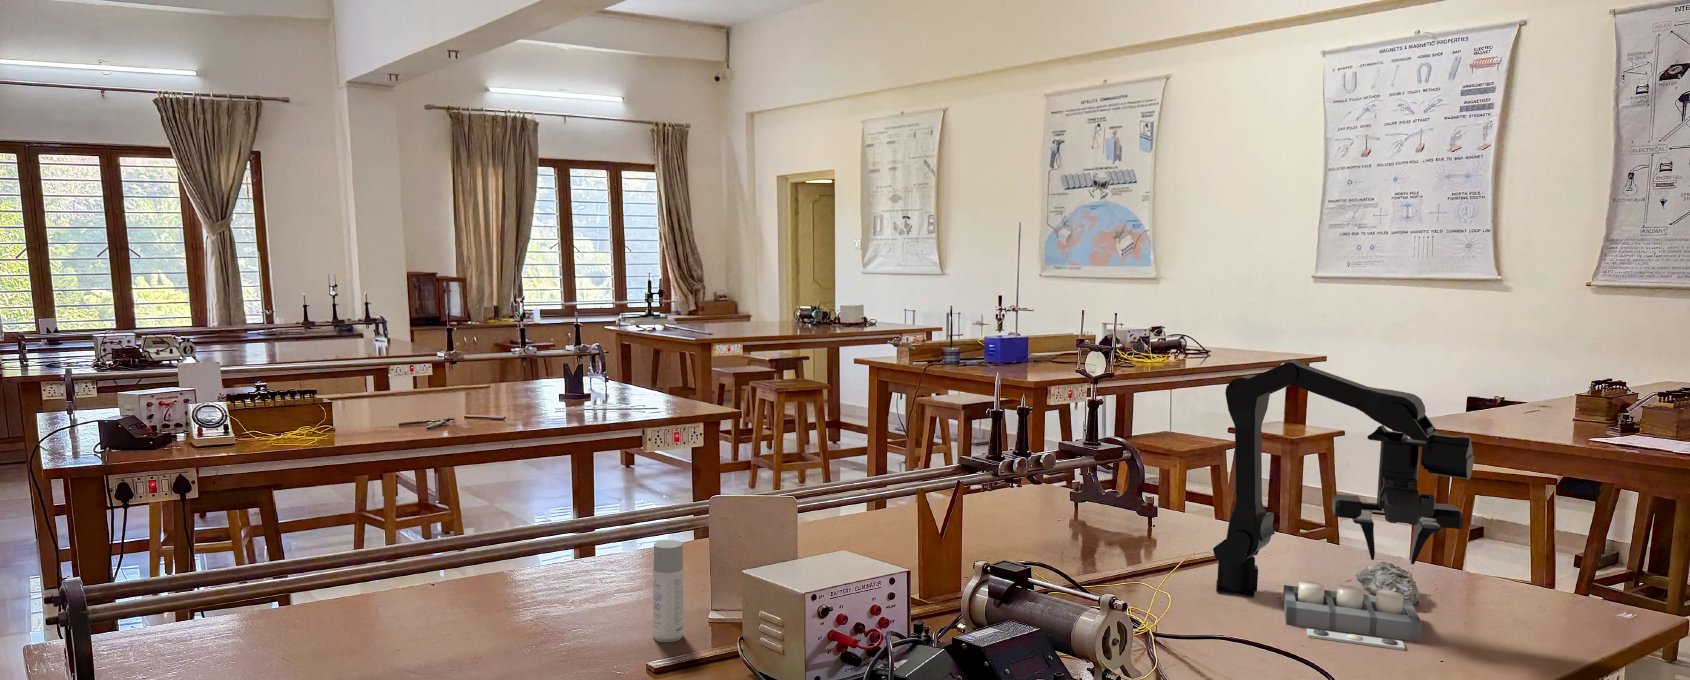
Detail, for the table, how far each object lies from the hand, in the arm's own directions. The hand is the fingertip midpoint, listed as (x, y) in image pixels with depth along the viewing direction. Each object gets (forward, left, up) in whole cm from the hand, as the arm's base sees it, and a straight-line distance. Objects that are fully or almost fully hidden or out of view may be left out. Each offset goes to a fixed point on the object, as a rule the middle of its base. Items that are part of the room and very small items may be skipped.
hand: (1392, 561), depth 172 cm
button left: (-12, 0, -9) cm, 15 cm away
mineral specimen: (+2, +16, -11) cm, 20 cm away
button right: (0, 0, -9) cm, 9 cm away
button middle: (-6, 0, -9) cm, 11 cm away
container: (-108, -51, -11) cm, 120 cm away
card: (-6, -10, -11) cm, 16 cm away
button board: (-6, 0, -11) cm, 13 cm away
